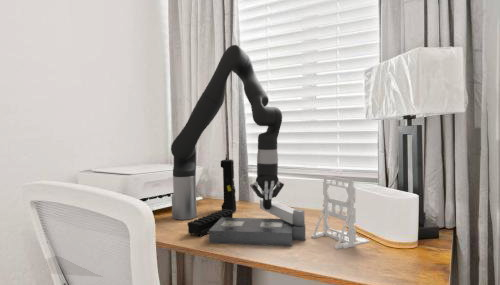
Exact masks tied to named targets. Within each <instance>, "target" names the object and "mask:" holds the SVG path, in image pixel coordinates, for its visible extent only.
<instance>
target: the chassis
mask: <svg viewBox="0 0 500 285" xmlns="http://www.w3.org/2000/svg"><path fill="white" fill-rule="evenodd" d="M294 241H306V224H305V225H303V226H296V225H294V224H291V223H288V222H286V221H284V220H282V219H280V218H262V217H261V218H259V217H233V218H224V217H221V218H220V219H219V220H218V222H217V223H216V224H215V225H214V226H213V227H212V228H211V229H210V230H209V234H208V243H209V244H221V245H222V244H223V245H224V244H225V245H249V246H251V245H252V246H274V247H275V246H278V247H280V246H281V247H293V242H294Z"/></svg>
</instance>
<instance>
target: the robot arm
mask: <svg viewBox="0 0 500 285" xmlns="http://www.w3.org/2000/svg"><path fill="white" fill-rule="evenodd" d="M231 72H232V73H234V74H235V75H237V77H238V78H239V79H240V80H241V82H242V84H243V92H244V94H245V97H246V99H247V101H248V102H249V104H250V108H251V115H252V119H253V122H254V124H256V125H257V126H259V127H267V128H266V131H264V132H261V133H259V135H258V136H257V154H256V155H257V156H256V178H255V182H253V183H251V184H250V188H251V189H252V190H253V192H254V193H255V195H257V197H258V198H260V199H263V207H264V209H266V210H269V209H270V208H271V200H273V198H277V196H278V195H279V193H280V192H281V190H282V189H283V188H284V186H285V183H284V182H281V181H280V180H279V177H278V175H279V174H278V173H279V171H278V169H279V168H278V167H279V156H278V137H279V133H280V131H281V130H280V129H281V126H282V122H283V113H282V111H281V109H280V108H279V107H278V106H277V107H276V106H267V105H269V97H268V94H267V93H266V92H265V89H264V88H263V86H262V85H261V82H260V81H259V79H258V77H257V75H256V72H255V70H254V66H253V64H252V61H251V58H250V56H249V54H247V53H246V51H244V50H243V49H242V48H241V47H240V46H239V45H236V44H231V45H230V46H228V48H226V49H225V51H224V52H223V54H222V55H221V58H220V60H219V62H218V64H217V66H216V69H215V70H214V72H213V75H212V76H211V79H210V80H209V82H208V83H207V86H206V87H205V89H204V90H203V92H202V93H201V95H200V97H199V98H198V100H197V102H196V104H195V106H194V107H193V109H192V111H191V113H190V115H189V117H188V120H187V121H186V123H185V125H184V126H183V128H182V129H181V131H180V132H179V134H178V135H177V136H176V137H175V139H174V140H173V141H172V143H171V146H170V152H171V154H172V156H173V168H172V186H173V191H172V192H173V194H172V195H171V216H172V219H175V220H180V221H181V220H182V221H184V220H192V219H196V218H197V217H198V216H197V215H198V214H197V213H198V211H197V175H196V172H197V147H196V145H197V144H198V142H199V140H200V138H201V136H202V134H203V132H204V131H205V130H206V129H207V128H208V127H209V125H210V124H211V122H212V121H214V119H215V117H216V116H217V114H218V113H219V111H220V110H221V108H222V106H223V105H224V101H225V98H226V97H225V96H226V85H227V81H228V78H229V76H230V74H231ZM259 188H260V190H261V191H260V190H259Z"/></svg>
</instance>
